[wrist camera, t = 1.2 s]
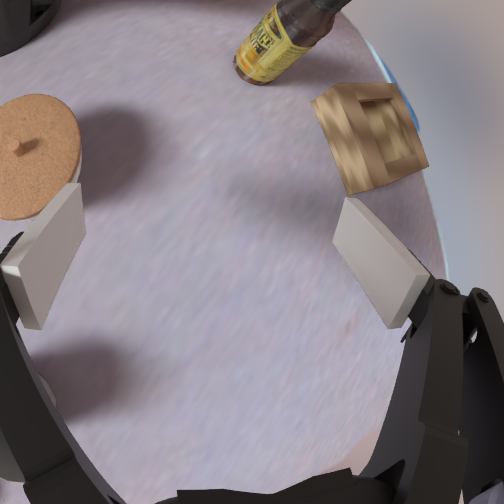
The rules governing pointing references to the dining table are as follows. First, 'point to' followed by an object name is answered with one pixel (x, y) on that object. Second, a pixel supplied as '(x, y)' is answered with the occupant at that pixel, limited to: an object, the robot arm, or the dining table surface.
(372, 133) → the open wooden box
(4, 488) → the dining table surface
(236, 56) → the sauce bottle
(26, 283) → the robot arm
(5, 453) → the cup
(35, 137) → the lidded jar
